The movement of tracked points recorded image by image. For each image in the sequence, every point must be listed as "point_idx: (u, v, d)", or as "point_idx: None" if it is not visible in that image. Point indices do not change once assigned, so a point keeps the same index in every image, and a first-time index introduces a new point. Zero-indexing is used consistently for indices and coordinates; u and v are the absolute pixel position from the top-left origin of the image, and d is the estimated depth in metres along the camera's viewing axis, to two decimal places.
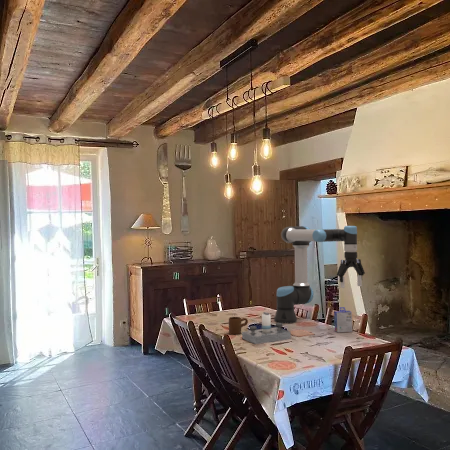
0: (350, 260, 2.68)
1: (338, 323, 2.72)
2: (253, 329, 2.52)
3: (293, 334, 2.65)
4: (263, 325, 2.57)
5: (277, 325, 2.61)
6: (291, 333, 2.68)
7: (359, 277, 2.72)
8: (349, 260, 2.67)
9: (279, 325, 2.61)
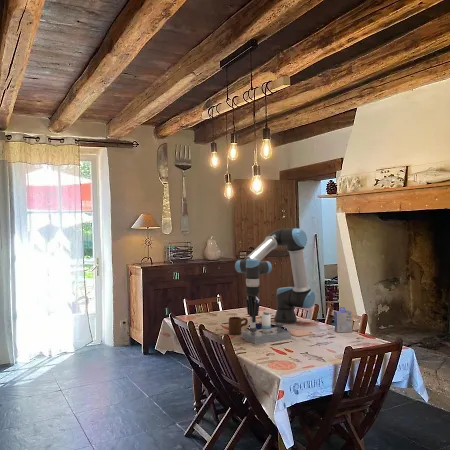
0: (249, 293, 2.55)
1: (338, 323, 2.72)
2: (253, 330, 2.52)
3: (293, 334, 2.65)
4: (263, 325, 2.57)
5: (277, 325, 2.61)
6: (291, 333, 2.68)
7: None
8: (248, 293, 2.56)
9: (279, 325, 2.61)
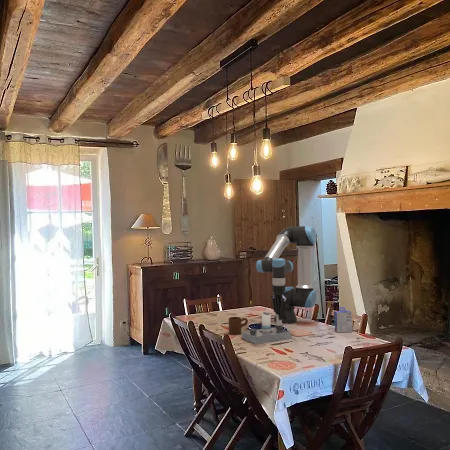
0: (275, 291, 2.64)
1: (338, 323, 2.72)
2: (253, 332, 2.52)
3: (293, 334, 2.65)
4: (263, 325, 2.57)
5: (277, 327, 2.61)
6: (291, 333, 2.68)
7: None
8: (274, 292, 2.64)
9: (279, 327, 2.61)
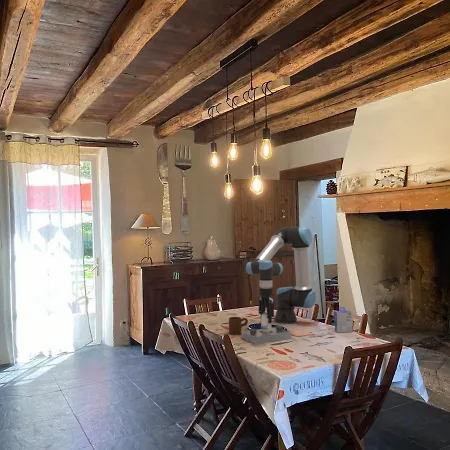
0: (262, 295, 2.59)
1: (338, 323, 2.72)
2: (253, 332, 2.52)
3: (293, 334, 2.65)
4: (263, 325, 2.57)
5: (277, 328, 2.61)
6: (291, 333, 2.68)
7: None
8: (262, 295, 2.60)
9: (279, 328, 2.61)
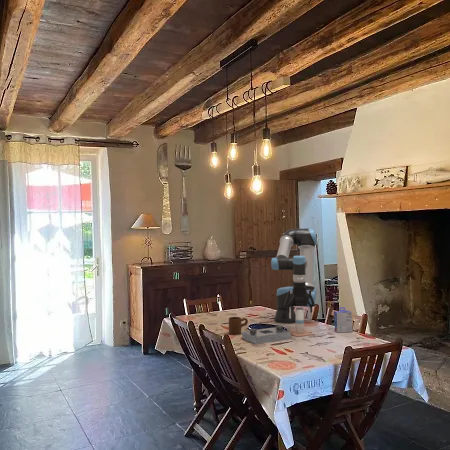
0: (297, 290, 2.69)
1: (338, 323, 2.72)
2: (253, 332, 2.52)
3: (293, 334, 2.65)
4: (301, 320, 2.67)
5: (277, 328, 2.61)
6: (291, 333, 2.68)
7: (308, 309, 2.69)
8: (296, 290, 2.69)
9: (279, 328, 2.61)
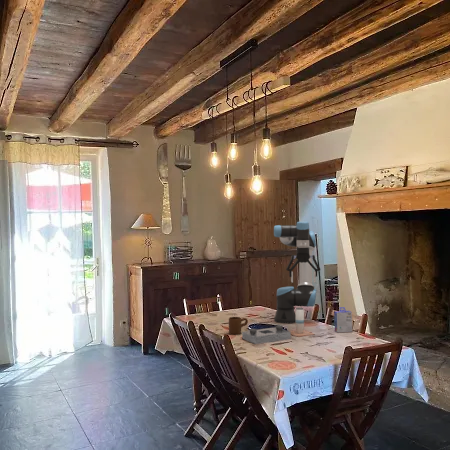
0: (301, 255, 2.70)
1: (338, 323, 2.72)
2: (253, 332, 2.52)
3: (293, 334, 2.65)
4: (301, 320, 2.67)
5: (277, 328, 2.61)
6: (291, 333, 2.68)
7: (314, 273, 2.71)
8: (299, 255, 2.70)
9: (279, 328, 2.61)
